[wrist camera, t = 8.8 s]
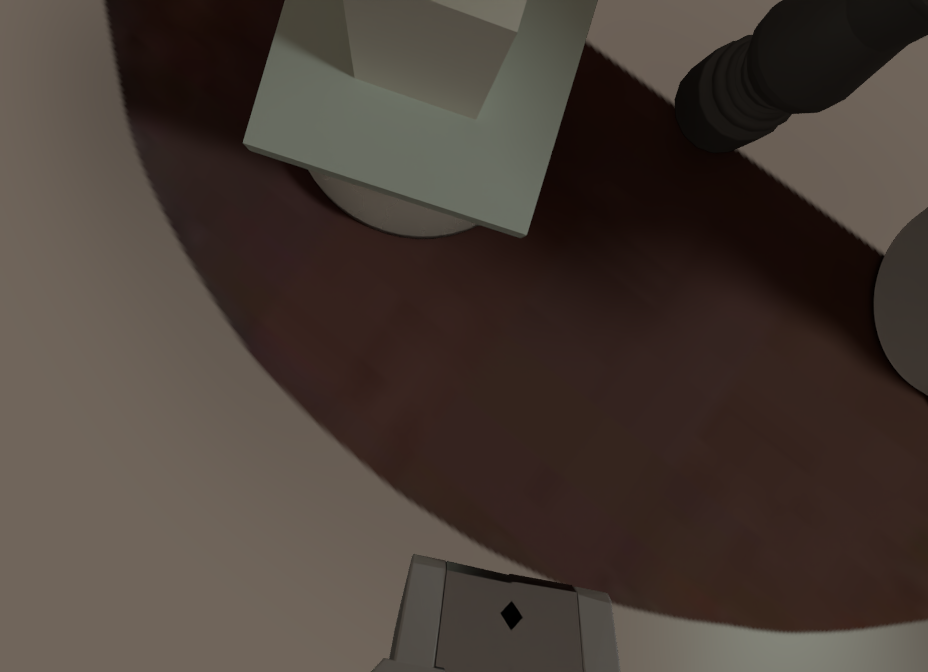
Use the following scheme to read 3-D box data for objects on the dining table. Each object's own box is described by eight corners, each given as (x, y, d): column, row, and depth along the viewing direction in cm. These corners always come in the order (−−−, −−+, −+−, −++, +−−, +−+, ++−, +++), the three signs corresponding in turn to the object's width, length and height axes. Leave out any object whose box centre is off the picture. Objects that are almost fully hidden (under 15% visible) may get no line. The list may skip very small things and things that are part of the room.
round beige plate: (502, 270, 42) (530, 263, 34) (260, 194, 40) (226, 166, 32) (574, 34, 42) (620, -32, 33) (334, -55, 40) (318, -149, 31)
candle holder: (680, 52, 43) (1085, -293, 18) (767, 67, 43) (1272, -245, 19) (668, 146, 43) (1051, -65, 18) (755, 159, 44) (1236, -27, 19)
